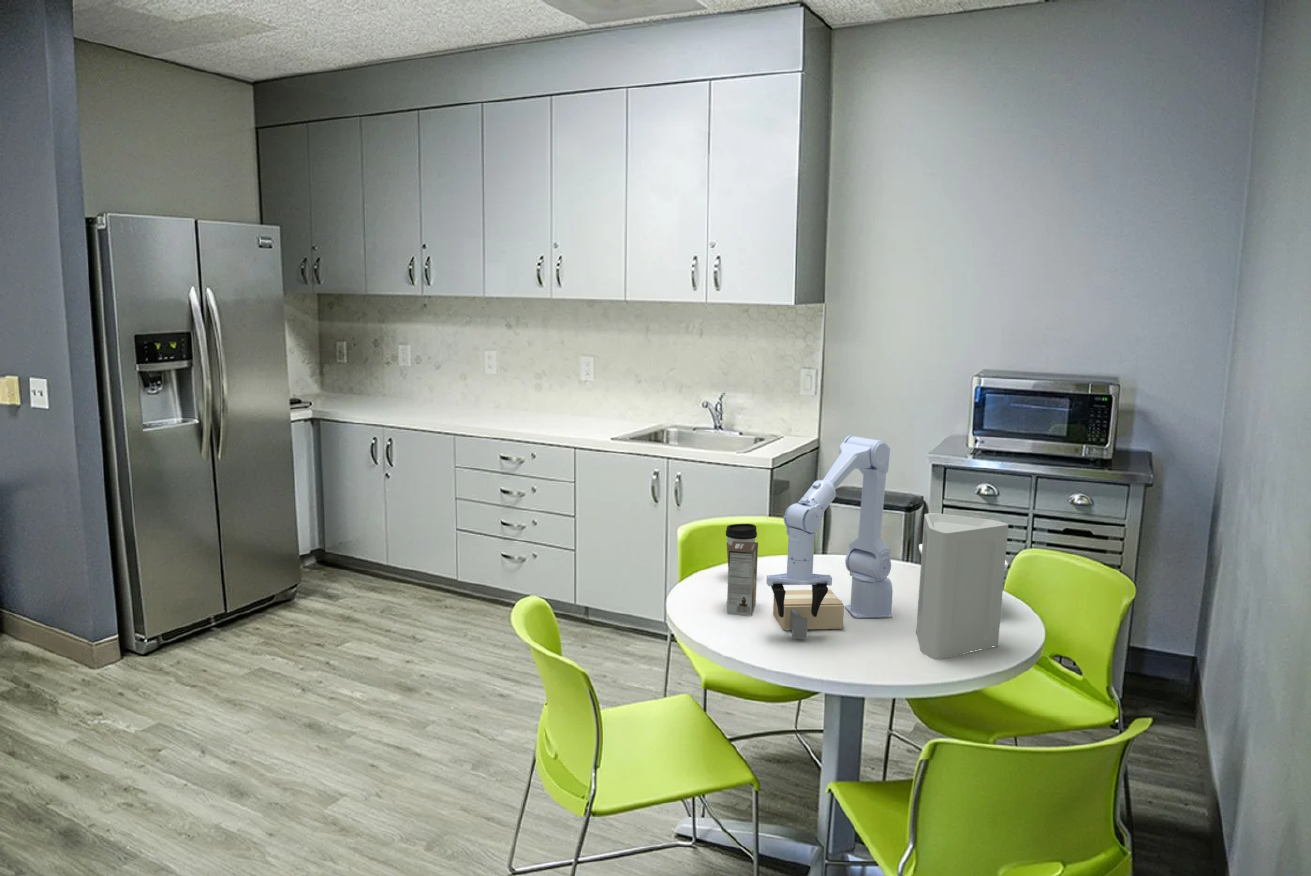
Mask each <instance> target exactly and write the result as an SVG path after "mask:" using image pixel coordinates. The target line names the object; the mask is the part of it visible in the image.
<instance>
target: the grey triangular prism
mask: <svg viewBox="0 0 1311 876" xmlns="http://www.w3.org/2000/svg"><path fill="white" fill-rule="evenodd" d="M922 530H923V531H922V543H921V544H922V555H921V556H920V557H921V558H920V560H921V561H920V575H919V586H918V587H919V588H918V602H917V603H918V604H917V615H916V616H917V617H916V631H915V632H916V633H915V634H916V637H917V642H918V646H919V649H920V653H921V652H922V653H921V654H923V655H925V656H928V657H930V658H931V659H932V660H937V659H938V660H943V659H947V657H948V658H952V657H956V655H957V656H961V655H964V654H963V653H966V654H968V653H967V652H970V651H975V650H979V649H984V650H986V649H985V648H989V649H991V648H990V647H992V646H997V645H998V646H999V638H1000V629H1001V628H1000V627H1001V625H1000V624H1001V616H1002V615H1001V613H1002V605H1003V604H1002V603H1003V592H1004V591H1003V589H1004V582H1005V581H1004V580H1005V579H1004V578H1005V571H1004V569H1005V560H1006V554H1007V545H1008V544H1007V542H1008V534H1009V533H1008V532H1009V523H1006V522H1003V521H999V520H997V519H989V518H984V517H983V518H982V517H981V518H980V517H972V516H962V515H955V514H945V513H937V512H931V513H924V516H923V529H922ZM998 646H997V647H998ZM979 651H980V650H979ZM975 652H976V651H975ZM970 653H971V652H970ZM960 654H961V655H960ZM951 656H952V657H951ZM942 658H943V659H942Z"/></svg>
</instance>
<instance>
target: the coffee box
mask: <svg viewBox="0 0 1311 876" xmlns="http://www.w3.org/2000/svg"><path fill="white" fill-rule="evenodd" d="M758 549H759V542H757V541H755V542H742V541H733V543H732V545H731V547H730V549H729V561H728V560H727V567H728V568H727V595H726V597H727V599H726V614H727V615H735V616H736V615H738V616H747V617H749V616H750V617H752V616H753V613H754V612H755V608H756V604H757V581H758V576H757V575H758Z"/></svg>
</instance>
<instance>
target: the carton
mask: <svg viewBox="0 0 1311 876" xmlns="http://www.w3.org/2000/svg"><path fill="white" fill-rule="evenodd" d="M784 590H785V591H786V593H785V598H784V606H811V605H812V589H790V590H789V589H784ZM772 604H773V605H772V606H773V607H772V609H773V610H772V615H773V616H774V618H775V619H776V621H777V622H778V625H780V627H781V629H782V630H784V629H783V624H784V616H783V617H780V616H779V615H778V607H777V602H776V599H775V596H774V595H773V603H772ZM820 605H844V603H843V602H842V601H841V600H840V598H839V597H838V596H837V595H836V594H835V593H834V592H833V590H832V589H828V592H827V594H826V595H825V597H824V598H823V600H822V602H821V604H820Z"/></svg>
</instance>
